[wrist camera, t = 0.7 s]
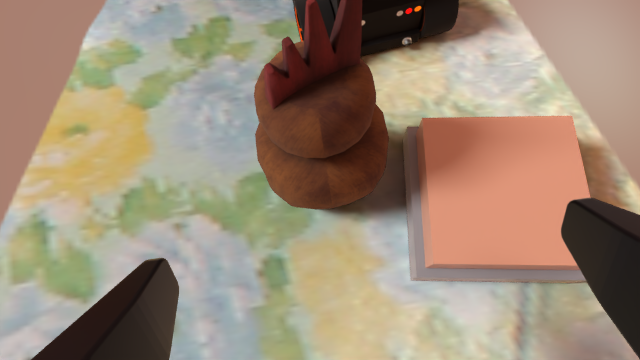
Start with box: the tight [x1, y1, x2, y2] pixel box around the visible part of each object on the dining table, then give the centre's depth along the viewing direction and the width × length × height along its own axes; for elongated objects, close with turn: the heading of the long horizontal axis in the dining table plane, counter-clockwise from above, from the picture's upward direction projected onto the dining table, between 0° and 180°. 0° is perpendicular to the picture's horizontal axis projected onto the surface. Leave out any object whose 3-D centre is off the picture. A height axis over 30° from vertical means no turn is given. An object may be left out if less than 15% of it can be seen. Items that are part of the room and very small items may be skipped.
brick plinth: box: [403, 116, 591, 283], centre depth 21 cm, size 9×9×4 cm
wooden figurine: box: [254, 0, 389, 209], centre depth 17 cm, size 7×6×15 cm
